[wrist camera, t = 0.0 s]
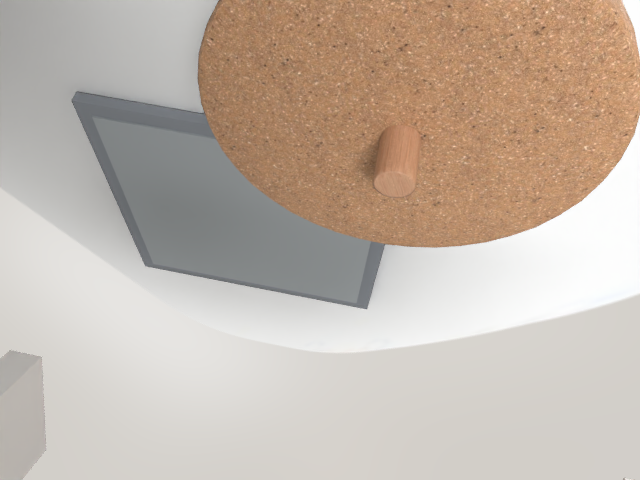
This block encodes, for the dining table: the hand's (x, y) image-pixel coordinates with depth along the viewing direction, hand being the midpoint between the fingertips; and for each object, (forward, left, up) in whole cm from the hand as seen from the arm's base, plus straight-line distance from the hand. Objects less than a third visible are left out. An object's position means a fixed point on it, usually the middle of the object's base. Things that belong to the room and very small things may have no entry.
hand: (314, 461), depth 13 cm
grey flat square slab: (+14, -6, -15) cm, 22 cm away
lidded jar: (-3, +1, -16) cm, 16 cm away
